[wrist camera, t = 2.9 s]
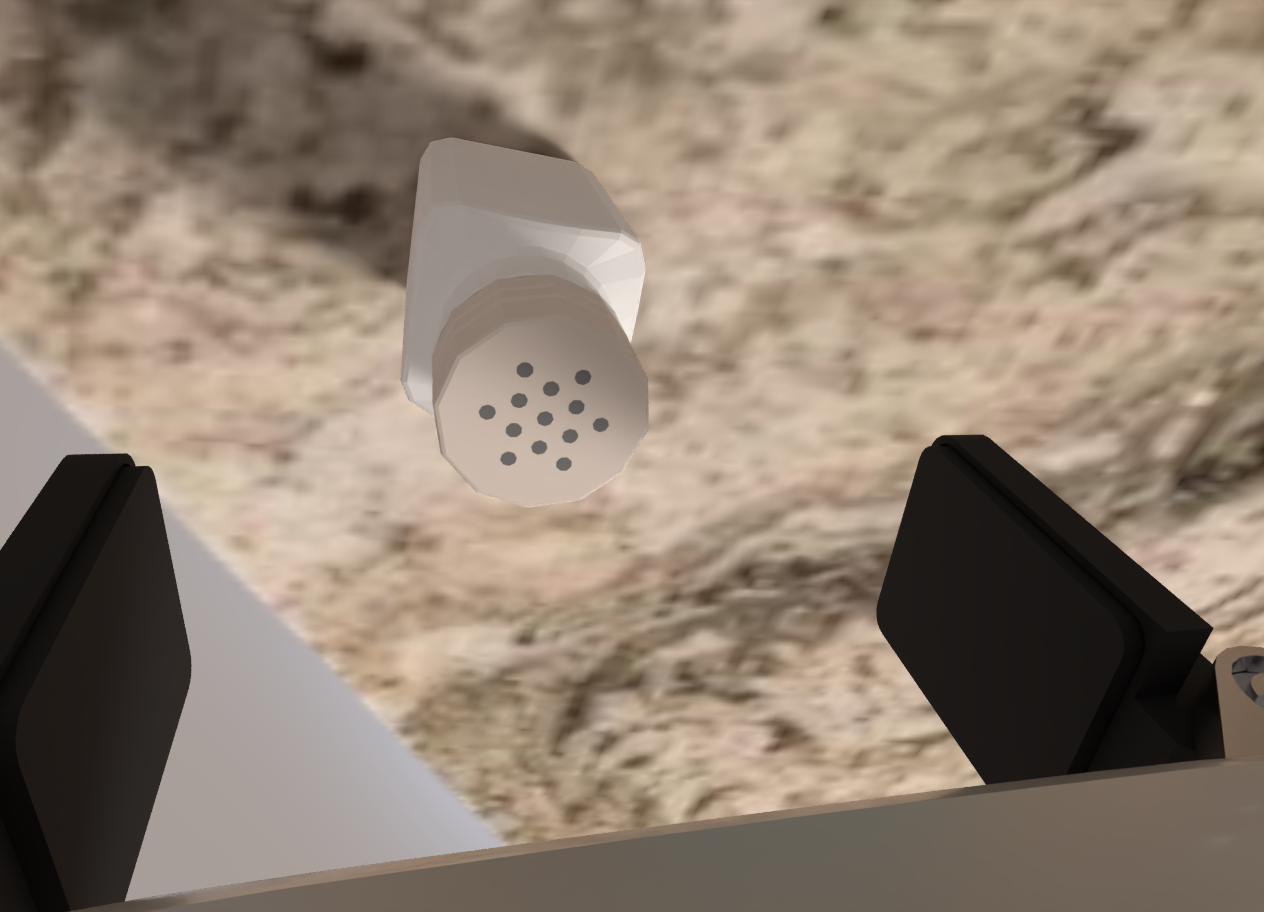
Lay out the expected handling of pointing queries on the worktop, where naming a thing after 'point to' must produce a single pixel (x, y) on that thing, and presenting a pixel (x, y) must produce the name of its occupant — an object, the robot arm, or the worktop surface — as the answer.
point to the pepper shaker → (523, 322)
